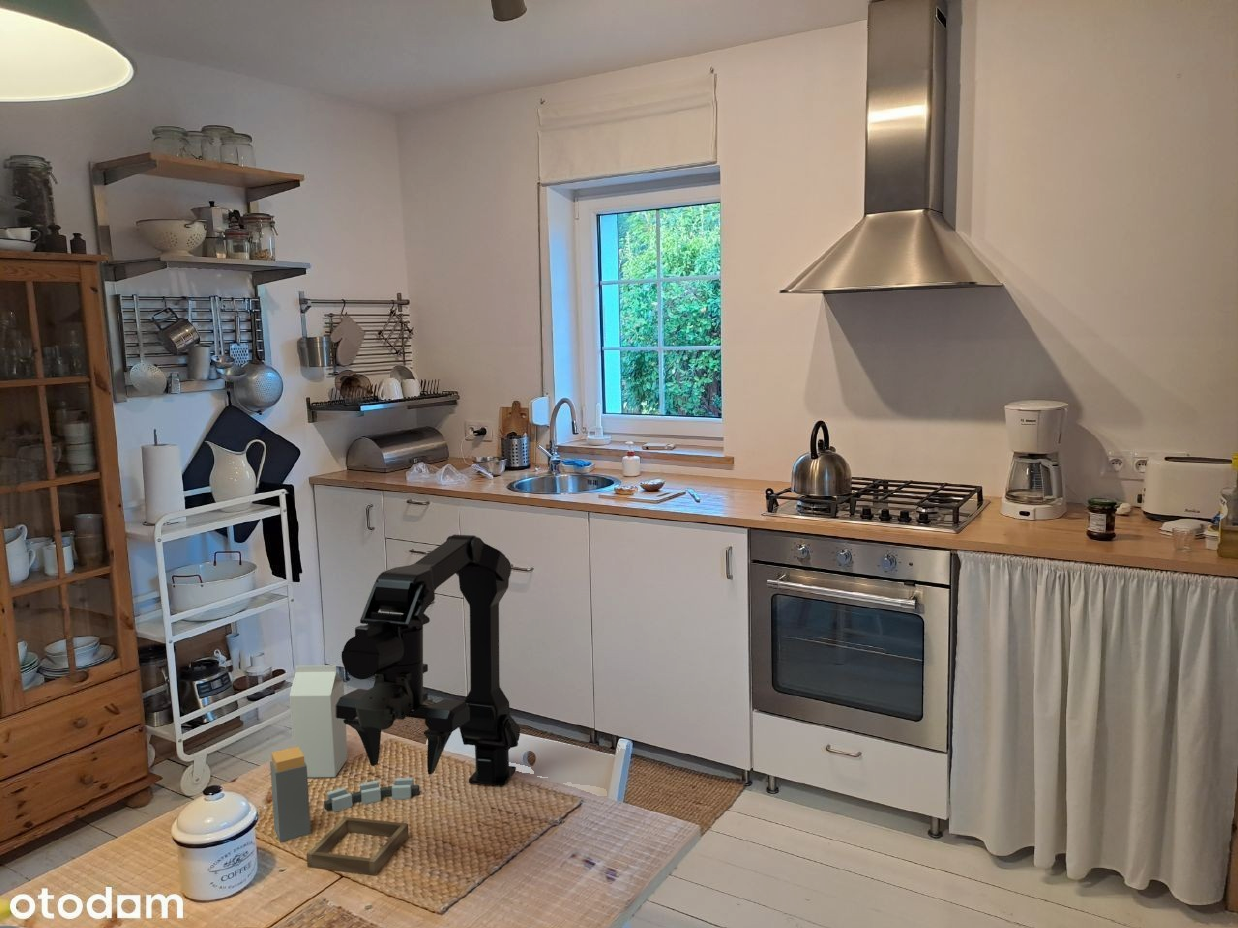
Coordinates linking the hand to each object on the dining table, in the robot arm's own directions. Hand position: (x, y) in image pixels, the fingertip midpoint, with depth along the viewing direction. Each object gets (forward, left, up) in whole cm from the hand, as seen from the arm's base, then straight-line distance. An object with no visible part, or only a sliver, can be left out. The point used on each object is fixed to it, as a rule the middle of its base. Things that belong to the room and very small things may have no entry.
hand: (402, 769), depth 128 cm
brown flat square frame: (-2, -8, -14) cm, 17 cm away
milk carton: (-25, -28, -15) cm, 40 cm away
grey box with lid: (-5, -21, -14) cm, 26 cm away
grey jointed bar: (-16, -14, -14) cm, 26 cm away
